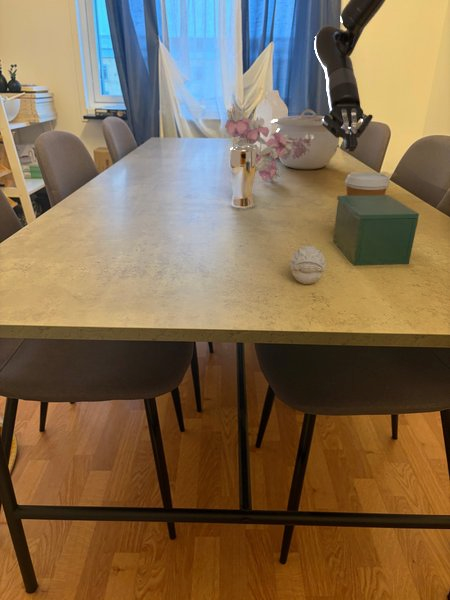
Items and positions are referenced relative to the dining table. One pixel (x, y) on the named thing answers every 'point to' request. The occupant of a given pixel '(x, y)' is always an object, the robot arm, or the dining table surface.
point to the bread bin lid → (377, 207)
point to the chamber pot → (306, 141)
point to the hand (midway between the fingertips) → (351, 149)
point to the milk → (270, 114)
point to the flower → (251, 133)
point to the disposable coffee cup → (366, 183)
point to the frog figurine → (307, 265)
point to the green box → (374, 238)
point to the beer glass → (242, 175)
